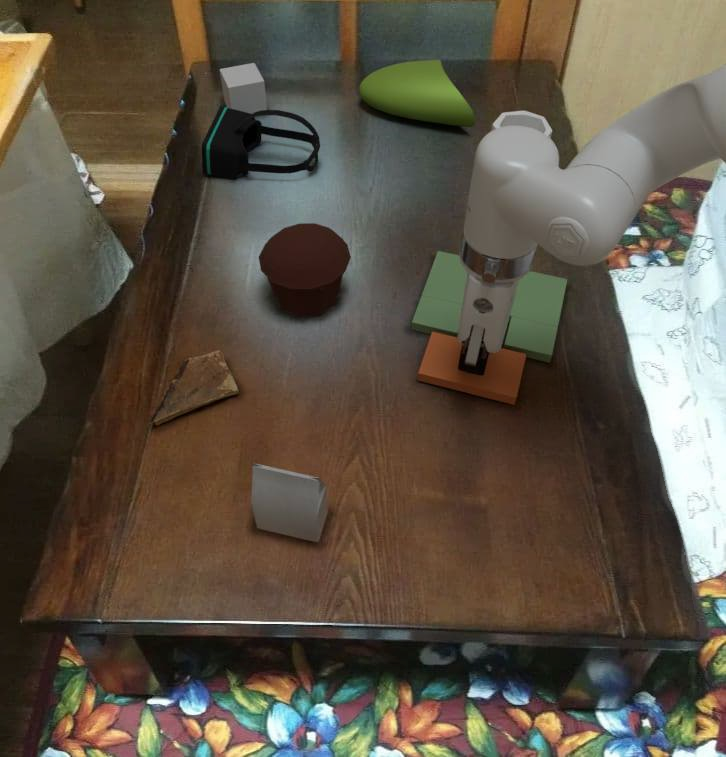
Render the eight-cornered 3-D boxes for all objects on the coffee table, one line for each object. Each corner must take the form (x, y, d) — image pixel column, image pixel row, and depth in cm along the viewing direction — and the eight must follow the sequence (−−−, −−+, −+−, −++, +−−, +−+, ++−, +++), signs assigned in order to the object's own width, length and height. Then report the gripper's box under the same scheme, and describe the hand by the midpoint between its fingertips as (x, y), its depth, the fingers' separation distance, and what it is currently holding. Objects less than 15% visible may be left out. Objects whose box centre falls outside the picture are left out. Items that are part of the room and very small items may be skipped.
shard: (152, 429, 85) (149, 420, 84) (135, 382, 89) (131, 373, 88) (240, 397, 88) (239, 388, 87) (219, 352, 92) (217, 343, 91)
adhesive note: (233, 121, 123) (228, 87, 118) (224, 101, 126) (219, 69, 121) (267, 113, 124) (264, 80, 119) (258, 95, 128) (254, 62, 123)
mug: (538, 202, 111) (552, 146, 103) (481, 195, 112) (490, 140, 104) (539, 155, 118) (552, 99, 110) (486, 149, 119) (495, 93, 111)
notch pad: (565, 286, 100) (567, 279, 99) (549, 363, 92) (552, 355, 91) (436, 258, 103) (437, 250, 102) (410, 329, 95) (411, 322, 94)
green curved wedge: (482, 48, 120) (361, 45, 123) (476, 102, 115) (350, 98, 118) (479, 86, 127) (366, 83, 130) (474, 139, 122) (355, 135, 125)
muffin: (281, 335, 94) (274, 280, 86) (251, 279, 100) (242, 223, 92) (364, 307, 97) (365, 251, 89) (331, 254, 103) (329, 197, 95)
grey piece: (318, 542, 77) (314, 496, 69) (257, 528, 78) (246, 481, 70) (327, 512, 79) (325, 464, 71) (268, 498, 80) (258, 449, 72)
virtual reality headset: (222, 133, 120) (220, 78, 112) (323, 155, 120) (329, 101, 112) (202, 175, 113) (199, 119, 105) (309, 198, 113) (314, 144, 105)
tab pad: (530, 336, 94) (542, 295, 88) (514, 405, 87) (526, 366, 81) (439, 314, 96) (445, 273, 90) (417, 380, 90) (421, 340, 84)
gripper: (520, 311, 69) (491, 421, 84) (547, 205, 78) (516, 320, 93) (443, 293, 70) (427, 404, 85) (478, 191, 80) (458, 307, 94)
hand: (474, 359), depth 89 cm, fingers closed on tab pad, 2 cm apart
